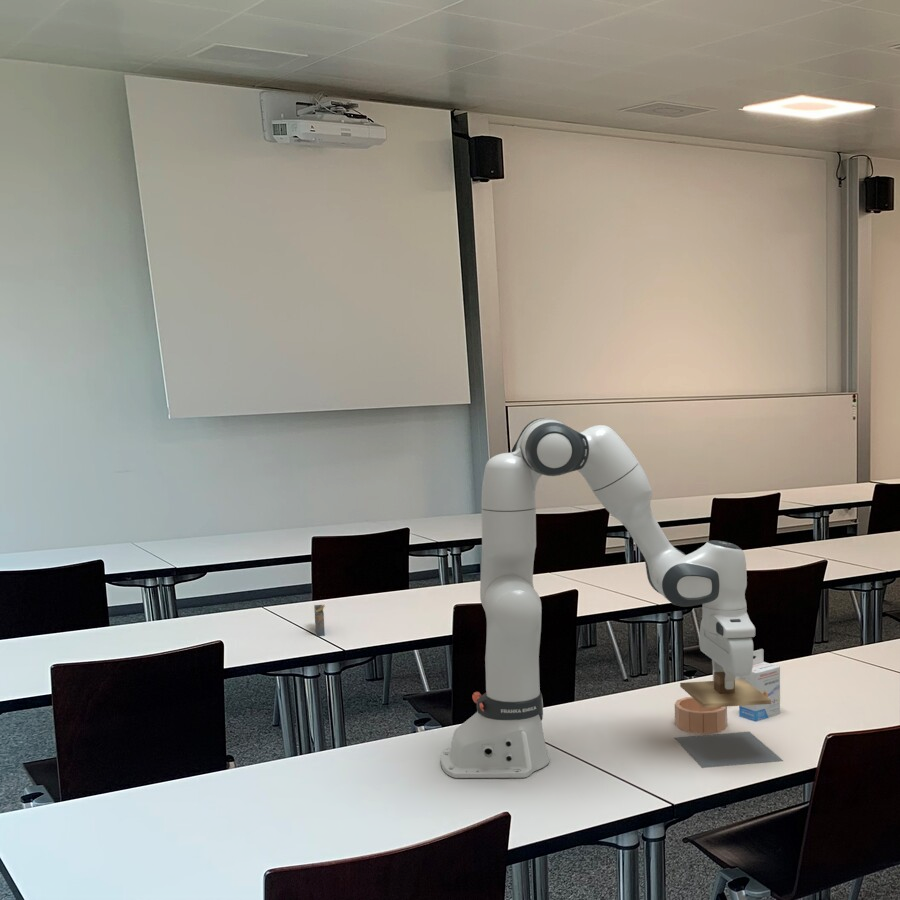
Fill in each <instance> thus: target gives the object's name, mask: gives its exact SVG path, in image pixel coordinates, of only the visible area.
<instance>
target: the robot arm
mask: <svg viewBox="0 0 900 900" xmlns="http://www.w3.org/2000/svg"><path fill="white" fill-rule="evenodd" d="M484 467H485V468H484V473H483V478H482V484H481V485H482V486H481V508H480V509H481V510H480V511H481V557H480V559H481V561H480V579H479V580H480V581H479V582H480V583H479V585H480V591H479V594H480V603H481V605H482V607H483V610H484V612H485V618H486V639H485V640H486V642H485V643H486V644H485V655H484V661H485V664H484V667H485V691H486V692H484V693H483V694H481V692H480V691H475V692H473V694H472V697H471V698H472V700H473V702H474V703H475V704H476V711H475V713H474V714H473V715H471V717H469V718H468V719H466V721H463V723H462V724H460V725H458V727H456V728H455V729H454V733H453V735H452V738H451V744H450V748H448V749H446V750H443V751H442V753H441V755H440V766H441V768H442V771H444V773H445V774H446V775H448V776H450V777H452V778H455V779H486V778H487V779H499V778H502V779H505V778H506V779H511V778H513V779H515V778H517V779H519V778H520V779H525V778H528V777H529V776H531V775H532V774H533V773H534V772H537V771H538V770H541V769H543V768H545V767H547V765H548V764H549V762H550V760H551V759H550V756H549V752H548V749H547V745H546V739H545V736H544V731H543V722H542V721H543V715H544V702H543V694H542V692H541V690H540V688H541V687H540V685H541V684H540V657H539V656H540V647H541V646H540V645H541V633H542V614H543V613H542V609H543V607H542V600H541V598H540V596H539V594H538V592H537V591H536V589H535V588H534V583H533V579H534V577H533V576H534V561H535V554H536V548H537V515H536V514H537V510H536V509H537V508H536V490H537V486H538V485H537V484H538V482H539V480H540V478H541V477H542V476H543V475H544V476H546V477H557V476H562V475H565V474H569V473H572V472H575V471H578V473H580V474H581V476H582V477H583V478H584V480H585V481H586V483H587V484H588V486H589V488H590V490H591V491H592V493H593V495H594V496H595V498H596V499H597V500H598V501H599V503H601V505H602V507H604V509H605V510H606V511H607V512H608V514H610V515H611V516H613V518H614V519H616V520H617V521H619V523H621V524H622V525H623V526H624V527H625V529H626V530H627V532H628V534H629V535H630V537H631V539H632V540H633V542H634V543H635V545H636V547H637V548H638V550H639V552H640V553H641V555H642V557H643V559H644V563H645V570H646V576H647V580H648V582H649V585H650V586H651V587H652V589H653V590H654V591H656V593H658V594H660V595H661V596H662V597H663V598H664V599H666V600H667V601H668V602H670V603H671V604H672V605H674V606H678V607H680V608H681V607H683V608H686V607H688V608H689V607H694V606H700V605H702V607H701V608H702V609H701V610H702V619H701V621H700V624H699V625H700V626H699V627H700V628H699V638H698V639H699V643H698V645H699V649H700V650H699V651H700V652H702V653H703V654H705V656H707V657H708V658H710V659H711V664H712V670H713V669H714V672H725V673H726V674H725V679H723V687H725V688H726V689H727V690H728V689H733V688H734V680H735V678H736V676H749V675H750V674H751V672H752V667H753V659H754V656H753V651H754V641H753V638H754V637H755V636H756V627H755V625H754V624H753V622H752V621H751V619H750V616H749V614H748V612H747V610H748V608H747V600H746V595H745V594H746V590H747V586H748V581H747V579H748V576H747V572H748V571H747V562H746V557H745V552H744V550H743V549H742V548H741V547H739V546H738V545H736V544H734V543H731V542H728V541H722V540H715V539H714V540H708V541H706V543H705V544H704V545H702V546H701V547H698V548H697V549H696V550H694V551H692V552H690V553H688V554H685V552H683V551H681V550H680V549H678V548H677V547H675V546H674V545H673V544H671V542H670V541H669V539H668V538H667V536H666V534H665V533H664V531H663V529H662V528H661V526H660V524H659V523H658V521H657V519H656V518H655V516H654V514H653V512H652V509H651V501H652V498H653V497H652V496H653V489H652V486H651V483H650V480H649V479H648V476H647V474H646V472H645V470H644V467H642V465H641V463H640V462H639V460H638V459H637V457H636V456H635V455H634V453H633V451H632V450H631V449H630V447H629V446H628V445H627V444H626V443H625V440H623V439H622V438H621V437H620V435H619V434H618V433H617V432H616V431H615V430H614V429H612V428H611V427H610V426H608V425H603V424H598V425H592V426H589V427H588V428H586V429H584V430H583V431H580V432H579V431H577V430H575V429H573V428H571V426H570V427H569V426H568V425H567V424H565V423H564V422H562V421H560V420H557V419H555V418H549V417H548V418H547V417H542V418H536V419H533V420H531V421H530V422H528V424H526V425H525V427H524V428H523V429H522V430H521V432H520V433H519V436H518V438H517V440H516V442H515V444H514V446H513V447H512V449H511V452H502V453H499V454H496V455H493V456H492V457H491V458H489V459H488V460H487V462H486V464H485V466H484ZM723 668H724V669H723Z"/></svg>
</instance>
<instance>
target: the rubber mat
mask: <svg viewBox="0 0 900 900" xmlns="http://www.w3.org/2000/svg"><path fill="white" fill-rule="evenodd" d="M673 739H674V740H675V741H676V743H678V745H680V746H681V747H682V748H683V750H684V751H686V753H687V754H688V755H689V756H690V757H691V758H692V759H693V761H695V762H696V763H697V765H699V766H700V768H702V769H704V768H716V767H728V766H729V767H730V766H739V765H740V766H742V765H753V764H764V763H765V764H766V763H767V764H768V763H777V762H784V760H783V759H782V758H781V757H780V756H779V755H777V754H776V753H775V752H774V751H773V750H772V749H771V748H769V747H768V746H767V745H766V744H765V743H763V741H761V740H760V739H758V737H756V736H755V735H754V733H752V732H751V731H738V732H727V733H726V732H725V733H711V734H702V735H701V734H700V735H689V736H676V737H675V736H674V737H673Z"/></svg>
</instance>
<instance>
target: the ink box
mask: <svg viewBox="0 0 900 900" xmlns="http://www.w3.org/2000/svg"><path fill="white" fill-rule="evenodd" d="M764 652H765V651H764V649H763V648H759V649H757V650H753V667H752V672H751V674H750V675H749V676H739V680H740V679H744V680H745V681H746V682H748V683H749V684H750V685H752V686H753V687H754V688H756V689H757V690H758V691H760V692H761V693H762V694H764V695H765V696H766V697H768V698H769V699H770V700H771V704H761V705H744V706H738V708H739V710H738V713H739V717H740V718H743V719H747V720H750V721H752V722H759V721H762V720H766V719H769V718H772V717H775V716H779V715H781V666H779V665H778V664H777V665H776V664H773V663H769V662H766V661H764Z"/></svg>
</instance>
